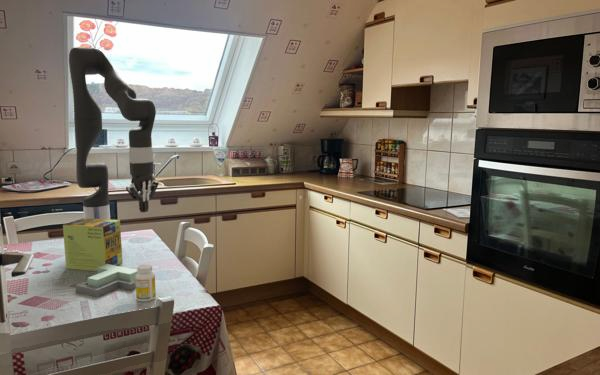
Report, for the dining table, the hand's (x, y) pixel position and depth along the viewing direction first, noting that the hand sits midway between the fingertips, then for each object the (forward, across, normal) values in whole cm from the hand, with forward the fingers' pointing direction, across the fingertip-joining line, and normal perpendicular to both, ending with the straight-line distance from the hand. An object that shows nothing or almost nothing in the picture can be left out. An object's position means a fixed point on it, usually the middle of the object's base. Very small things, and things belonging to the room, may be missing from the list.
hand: (144, 211), depth 163 cm
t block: (+19, +18, +2) cm, 26 cm away
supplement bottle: (+19, +20, +20) cm, 34 cm away
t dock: (+19, +21, +2) cm, 29 cm away
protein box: (+20, +6, -18) cm, 27 cm away
